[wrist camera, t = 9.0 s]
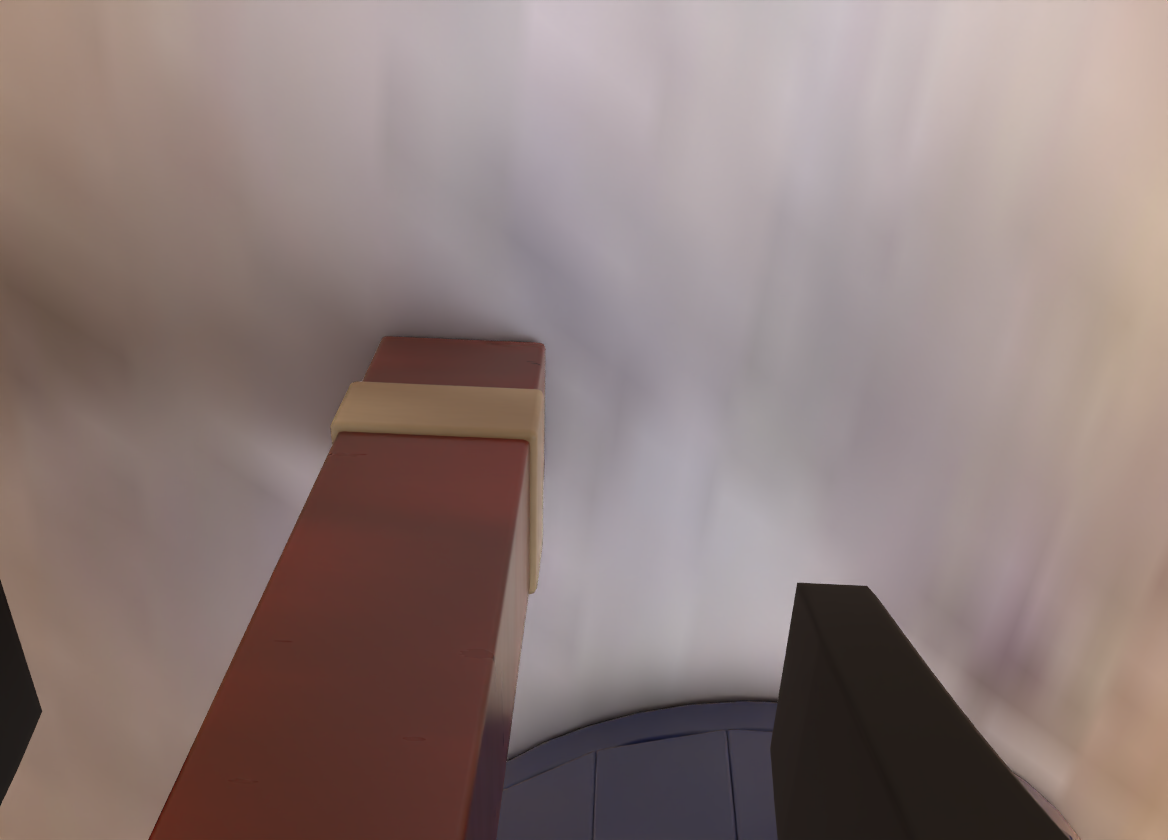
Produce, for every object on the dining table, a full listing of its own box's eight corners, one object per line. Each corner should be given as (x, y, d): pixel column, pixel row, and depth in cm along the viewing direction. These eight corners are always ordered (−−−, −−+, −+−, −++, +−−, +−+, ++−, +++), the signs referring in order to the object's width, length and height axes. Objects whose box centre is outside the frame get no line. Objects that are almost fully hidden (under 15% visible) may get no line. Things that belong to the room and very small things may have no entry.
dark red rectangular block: (386, 476, 14) (145, 1140, 7) (374, 328, 13) (75, 939, 6) (550, 484, 14) (469, 1157, 7) (552, 334, 13) (458, 961, 6)
